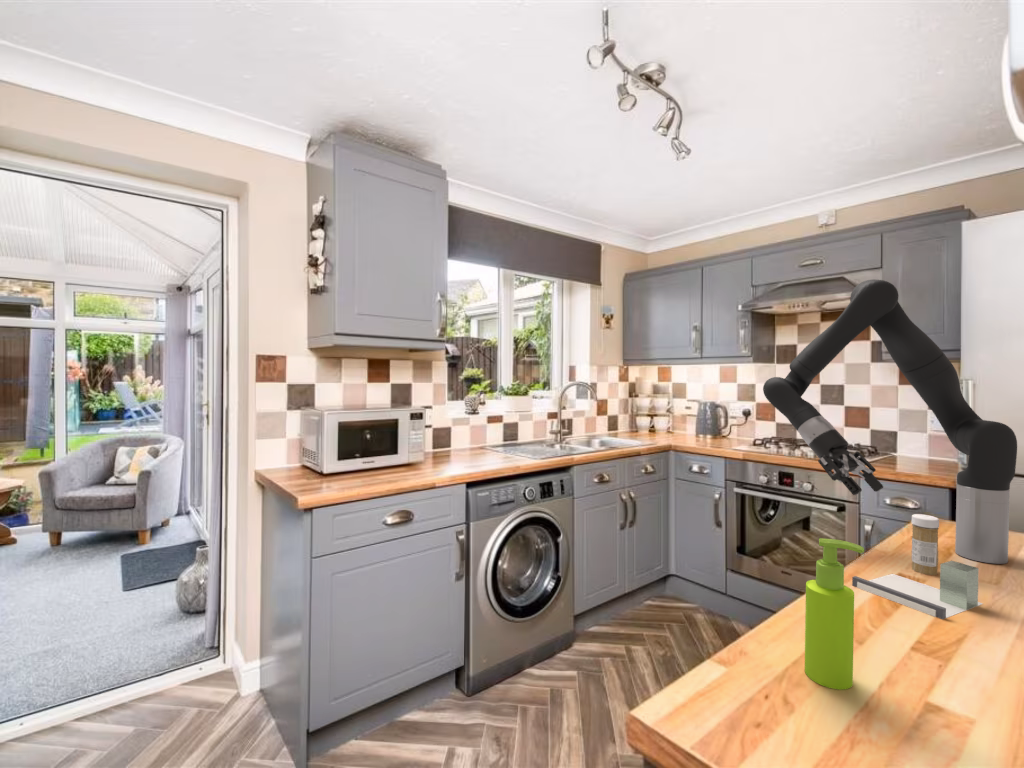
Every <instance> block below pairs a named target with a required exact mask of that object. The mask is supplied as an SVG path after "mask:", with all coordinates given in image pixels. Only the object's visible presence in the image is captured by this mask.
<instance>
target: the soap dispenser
mask: <svg viewBox="0 0 1024 768" xmlns="http://www.w3.org/2000/svg"><path fill="white" fill-rule="evenodd" d="M818 545H819V547H823V550H822V558H820V559H818V560H817V559H816V563H815V566H816V567H815V579H810V580H807V581H806V582H805V613H804V614H805V616H804V617H805V621H804V622H805V624H804V627H805V628H804V630H805V631H804V639H805V640H804V673H805V675H806V676H807V677H808V678H809V679H810V680H812V681H813V682H815V683H816V684H818V685H821V686H823V687H825V688H829V689H834V690H837V691H839V690H840V691H841V690H848V689H851V688H852V687H853V683H854V682H853V681H854V680H853V679H854V674H853V673H854V635H855V634H854V632H855V631H854V627H855V592H854V591H853V589H852V588H850V587H849V586H847V585H845V566H844V564H843V563H841V562H839V561H838V549H843V550H849V551H853V552H855V553H859V554H863V553H864V552H865V549H864V546H861V545H859V544H856V543H853V542H850V541H846V540H840V539H835V538H833V539H832V538H821V537H819V538H818Z"/></svg>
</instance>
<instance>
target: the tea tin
mask: <svg viewBox="0 0 1024 768" xmlns="http://www.w3.org/2000/svg"><path fill="white" fill-rule="evenodd" d="M939 565H940V569H939V570H940V572H939V574H940V575H939V589H940V601H942V602H945V603H948V604H951V605H954V606H956V607H959V608H962V609H965V610H966V611H968V609H969V610H971V609H973V607H974V608H976V607H979V606H978V602H979V570H980V569H979V567H975V566H972V565H969V564H965V563H961V562H959V561H958V562H957V561H954V560H950V561H945V562H943V563H940V564H939ZM970 608H971V609H970Z"/></svg>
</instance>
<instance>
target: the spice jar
mask: <svg viewBox="0 0 1024 768" xmlns="http://www.w3.org/2000/svg"><path fill="white" fill-rule="evenodd" d="M911 524H912V525H911V526H912V528H911V529H912V535H911V570H912V571H914V572H916V573H918V574H921V575H922V574H923V575H927V576H936V575H938V569H939V567H938V566H939V528H940V519H939V518H938V517H936V516H933V515H928V514H921V513H915V514H912V515H911Z"/></svg>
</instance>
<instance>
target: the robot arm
mask: <svg viewBox="0 0 1024 768" xmlns="http://www.w3.org/2000/svg"><path fill="white" fill-rule="evenodd" d="M849 299H850V300H849V301H850V302H849V303H848V304H847V306H846V308H845V309H844V310H843V311H842V313H841V314H840V315H839V316H838V317H837V318H836V319H835V321H834V322H833V323H831V325H829V326H828V327H827V328H826V329H824V331H822V332H821V333H820V334H819V335H817V337H815V339H813V340H812V341H810V342H809V344H807V345H806V346H805V347H804V348H803V349H802V350H801V351H800V352H799V353H798V355H797V356H795V357H794V359H793V360H791V362H790V364H789V370H790V371H789V372H788V374H787V375H786V376H785V378H783V377H781V376H780V377H779V376H774V377H773V376H772V377H771V378H769V379H767V380H765V382H764V384H763V387H762V390H763V391H762V392H763V394H764V397H765V398H766V400H767V401H768V402H769V403H770V404H771V405H772V406H773V407H774V408H775V409H776V410H777V411H779V412H780V413H781V414H782V415H783V416H785V418H786V419H787V420H788V422H789V423H790V424H791V425H792V426H793V427H794V429H795V430H796V431H797V432H798V433H799V435H800V437H801V439H803V441H804V442H805V443H806V445H807V446H808V447H809V448H810V450H811V451H813V453H814V454H815V455H816V456H817V458H818V460H817V461H818V463H819V465H820V466H821V468H823V470H824V471H825V473H826V474H827V475H828V476H829V477H830V479H831V480H832V481H835V482H836V481H838V482H840V483H842V484H843V485H844V486H845V487H846V488H847V490H848V491H849V492H850V493H851V494H852V495H853V496H856V495H858V494H860V493H861V492H863V491H862V488H861V486H859V484H858V483H857V482H856V481H855V480H854V479H853V478H852V476H850V473H851V474H853V475H857V476H859V477H861V478H862V479H863V480H864V481H865V482H866V483H867V485H868V486H869V487H870V488H871V489H872V490H873V492H880V491H881V490H883V489H884V484H882V483H881V481H880V480H878V479H877V477H876V476H875V474H874V472H876V468H875V467H874V466H873V465H872V464H871V463H870V462H869V460H867V459H866V458H865V456H864V455H862V454H861V452H859V451H856V452H854V453H852V452H850V451H849V450H848V446H849V442H848V440H846V438H845V437H844V436H843V435H842V434H841V433H840V432H839V431H838V430H837V429H836V427H834V425H833V424H832V423H831V422H829V420H827V419H826V418H825V417H824V416H823V415H822V414H821V413H820V411H819V410H818V409H817V408H815V406H813V405H812V403H810V402H809V401H807V400H805V398H804V399H803V397H802V396H803V395H804V393H805V392H806V391H807V389H808V388H809V387H810V385H811V383H812V381H813V380H814V379H815V378H816V377H817V376H818V375H819V374H820V373H821V372H822V371H823V370H824V369H825V368H826V367H827V366H828V365H829V364H830V363H831V362H832V361H833V360H834V359H835V358H836V357H837V356H838V355H839V354H840V353H841V352H842V350H844V349H845V348H846V347H847V346H848V345H849V344H850V343H851V342H852V341H853V340H854V339H855V338H857V337H858V335H860V334H861V333H862V332H864V331H865V330H866V329H867V328H868V327H871V328H872V329H873V330H874V331H875V332H876V334H877V335H878V337H880V339H881V341H882V343H883V345H884V347H885V348H886V351H888V354H889V355H890V357H891V358H892V360H893V362H894V363H895V365H896V367H897V368H898V370H899V371H900V372H901V373H902V375H903V376H904V377H905V379H906V380H907V382H909V384H910V385H911V387H912V388H913V389H914V390H915V391H916V392H917V394H918V396H919V397H920V398H921V399H922V401H923V402H924V403H925V404H926V405H927V407H928V408H929V409H930V410H931V412H932V413H933V415H934V416H935V417H936V419H937V421H938V422H939V424H940V425H941V427H942V429H943V431H944V433H945V435H946V436H947V437H948V440H949V441H950V442H951V444H952V446H954V448H955V449H956V450H957V451H958V452H960V453H962V454H964V455H967V456H968V458H967V459H968V462H967V467H966V468H965V469H964V470H961V471H958V473H957V474H956V499H955V501H956V503H955V504H956V505H955V507H956V509H955V542H954V543H955V545H954V546H955V547H954V548H955V549H954V551H955V553H956V554H957V555H958V556H960V557H963V558H966V559H969V560H972V561H976V562H977V561H978V562H982V563H985V564H986V563H987V564H993V565H995V564H997V565H999V564H1001V565H1003V564H1008V562H1009V530H1010V529H1009V528H1010V527H1009V525H1010V489H1011V488H1010V486H1011V482H1012V480H1014V477H1015V476H1016V475H1015V474H1016V467H1017V458H1018V457H1017V455H1018V440H1017V436H1016V434H1015V431H1014V430H1013V428H1011V427H1010V426H1009V425H1007V424H1005V423H1003V422H999V421H993V420H985V419H982V418H981V417H980V416H979V415H978V414H977V413H976V412H975V411H974V410H973V408H972V407H971V406H970V404H969V403H968V402H967V401H966V399H965V397H964V396H963V392H962V390H961V383H960V379H959V374H958V372H957V370H956V368H955V366H954V365H953V363H952V362H951V361H950V359H949V358H948V357H947V355H946V354H945V353H944V352H943V351H942V349H941V348H940V347H939V346H938V344H937V343H935V342H934V340H933V339H932V338H930V336H928V335H927V334H926V332H924V331H923V330H922V329H920V328H919V327H918V326H917V325H916V324H915V323H914V322H913V321H912V320H911V318H910V317H909V316H908V314H907V313H906V312H905V310H904V309H903V307H902V306H901V304H900V303H899V291H898V289H897V288H896V286H895V285H894V284H893V283H891V282H889V281H886V280H883V279H868V280H864V281H862V282H859V283H858V284H857V285H856V286H854V288H853V290H852V291H851V293H850V298H849Z"/></svg>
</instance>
